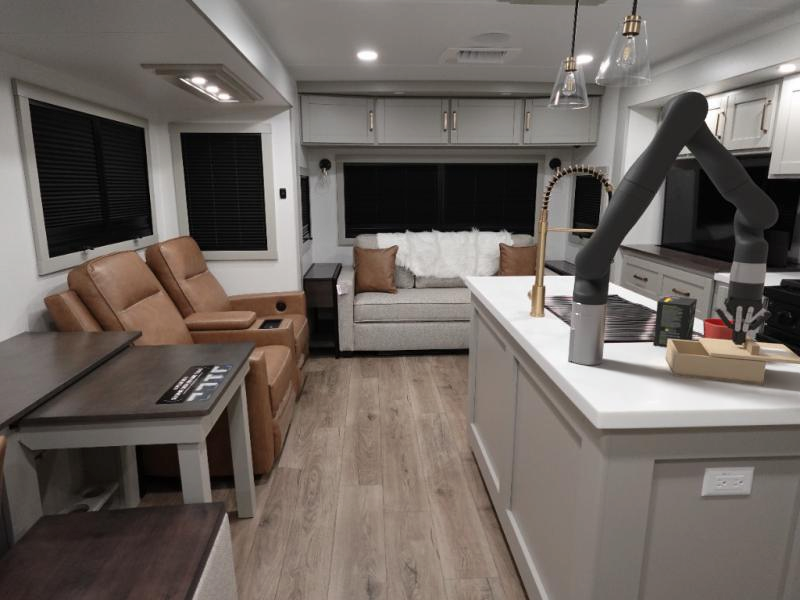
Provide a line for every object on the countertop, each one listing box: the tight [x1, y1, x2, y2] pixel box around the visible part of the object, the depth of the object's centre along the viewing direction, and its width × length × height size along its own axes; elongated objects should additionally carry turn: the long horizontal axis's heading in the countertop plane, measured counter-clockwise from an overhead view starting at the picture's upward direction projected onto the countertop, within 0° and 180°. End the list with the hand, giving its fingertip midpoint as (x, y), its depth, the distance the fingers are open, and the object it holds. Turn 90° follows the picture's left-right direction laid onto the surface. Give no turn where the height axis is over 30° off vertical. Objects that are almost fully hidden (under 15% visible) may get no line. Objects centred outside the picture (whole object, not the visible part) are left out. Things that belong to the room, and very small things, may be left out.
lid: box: [698, 333, 800, 365], centre depth 134 cm, size 20×15×3 cm
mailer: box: [665, 339, 767, 386], centre depth 138 cm, size 20×15×6 cm
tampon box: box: [652, 295, 698, 348], centre depth 161 cm, size 11×9×15 cm
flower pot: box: [702, 317, 733, 340], centre depth 152 cm, size 11×11×10 cm
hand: (737, 344), depth 135 cm, fingers closed
